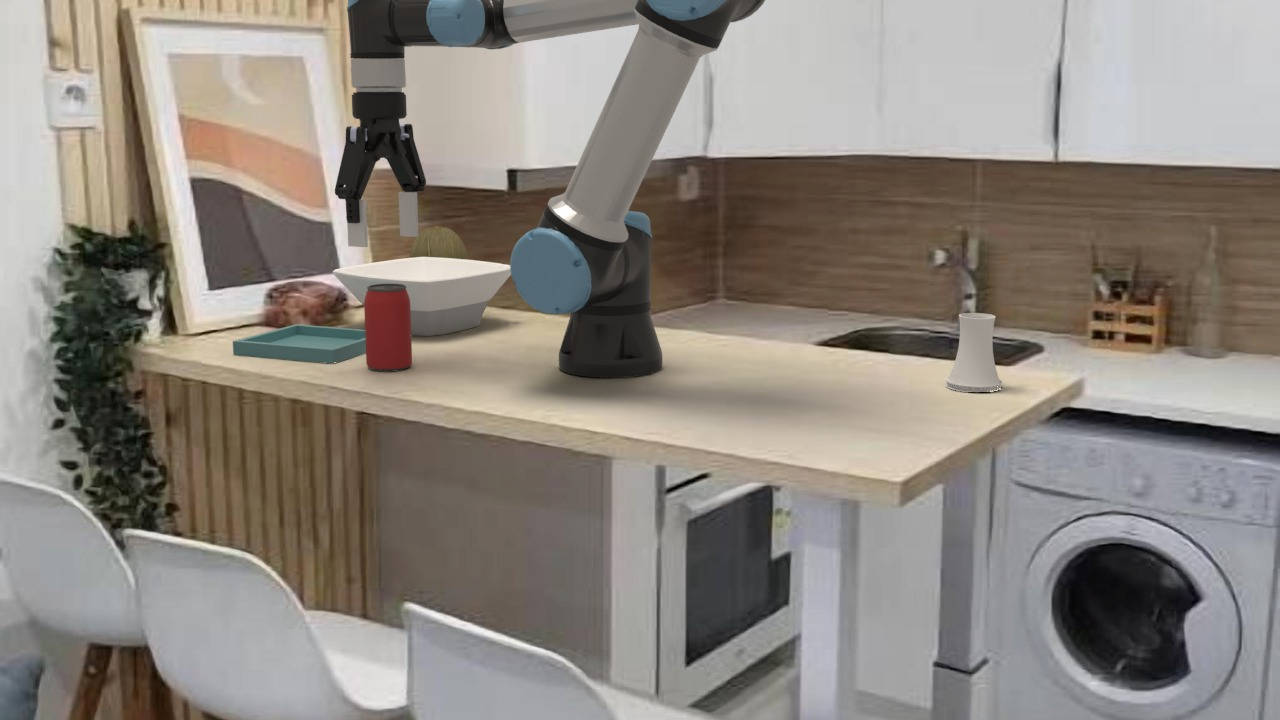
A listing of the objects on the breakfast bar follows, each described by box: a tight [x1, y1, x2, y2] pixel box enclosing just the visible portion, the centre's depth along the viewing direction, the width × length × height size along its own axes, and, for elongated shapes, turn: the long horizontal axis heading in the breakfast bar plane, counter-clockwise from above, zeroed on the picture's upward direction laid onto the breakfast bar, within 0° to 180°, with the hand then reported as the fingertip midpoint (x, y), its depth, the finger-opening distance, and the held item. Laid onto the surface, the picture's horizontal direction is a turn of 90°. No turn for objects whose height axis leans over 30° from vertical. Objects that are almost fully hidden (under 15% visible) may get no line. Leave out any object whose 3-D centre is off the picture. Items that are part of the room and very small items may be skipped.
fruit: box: [408, 225, 470, 260], centre depth 254 cm, size 11×11×15 cm
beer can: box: [363, 284, 413, 372], centre depth 200 cm, size 7×7×12 cm
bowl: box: [332, 257, 511, 337], centre depth 233 cm, size 24×25×10 cm
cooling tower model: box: [945, 312, 1003, 393], centre depth 188 cm, size 8×8×10 cm
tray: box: [232, 323, 366, 364], centre depth 214 cm, size 18×16×2 cm
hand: (384, 241), depth 198 cm, fingers open, 13 cm apart
